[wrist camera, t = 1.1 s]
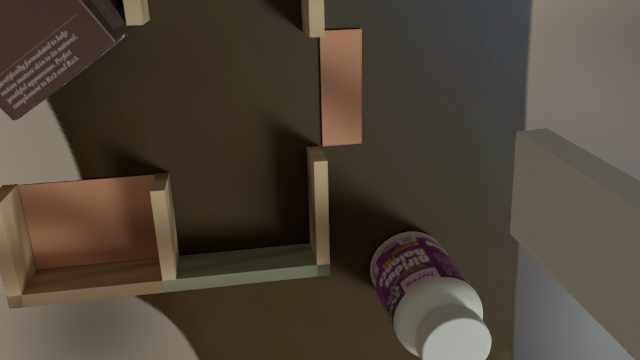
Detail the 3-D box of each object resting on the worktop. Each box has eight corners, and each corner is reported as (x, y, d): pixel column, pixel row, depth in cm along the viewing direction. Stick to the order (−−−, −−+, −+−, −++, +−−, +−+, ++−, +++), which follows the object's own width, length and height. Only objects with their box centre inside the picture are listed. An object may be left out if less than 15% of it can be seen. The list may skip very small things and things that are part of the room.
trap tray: (-78, -156, 28) (-111, -170, 25) (361, -155, 31) (375, -168, 28) (25, 282, 36) (9, 308, 33) (361, 248, 39) (372, 270, 36)
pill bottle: (397, 215, 39) (451, 289, 30) (456, 249, 40) (524, 330, 31) (352, 277, 40) (390, 367, 31) (411, 308, 41) (464, 403, 32)
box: (55, 92, 32) (10, 125, 25) (-30, 0, 30) (-104, 10, 23) (140, 27, 32) (118, 43, 25) (60, -72, 30) (12, -83, 23)
